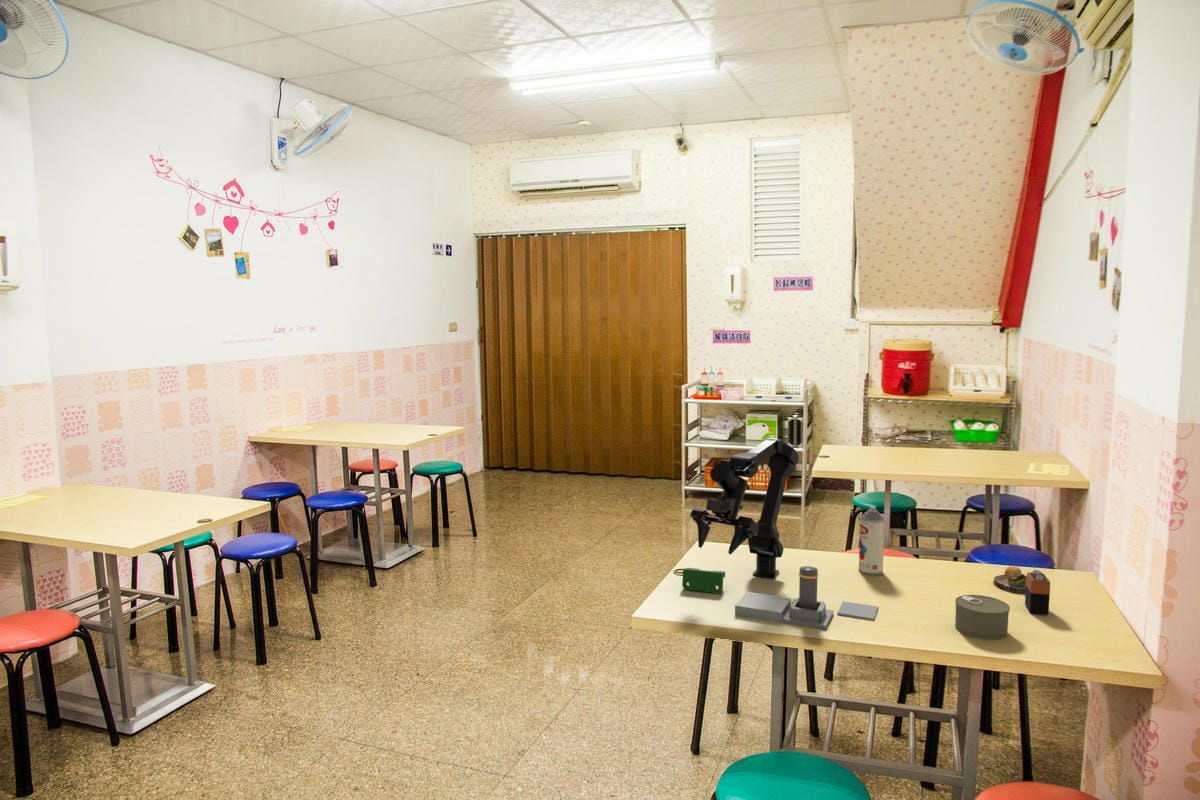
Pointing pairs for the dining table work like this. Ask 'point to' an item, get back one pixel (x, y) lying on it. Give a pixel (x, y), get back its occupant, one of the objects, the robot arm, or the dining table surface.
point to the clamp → (703, 580)
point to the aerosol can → (871, 542)
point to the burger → (1011, 580)
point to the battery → (1037, 593)
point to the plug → (808, 587)
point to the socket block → (782, 610)
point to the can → (981, 617)
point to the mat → (857, 610)
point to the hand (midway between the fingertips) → (714, 550)
